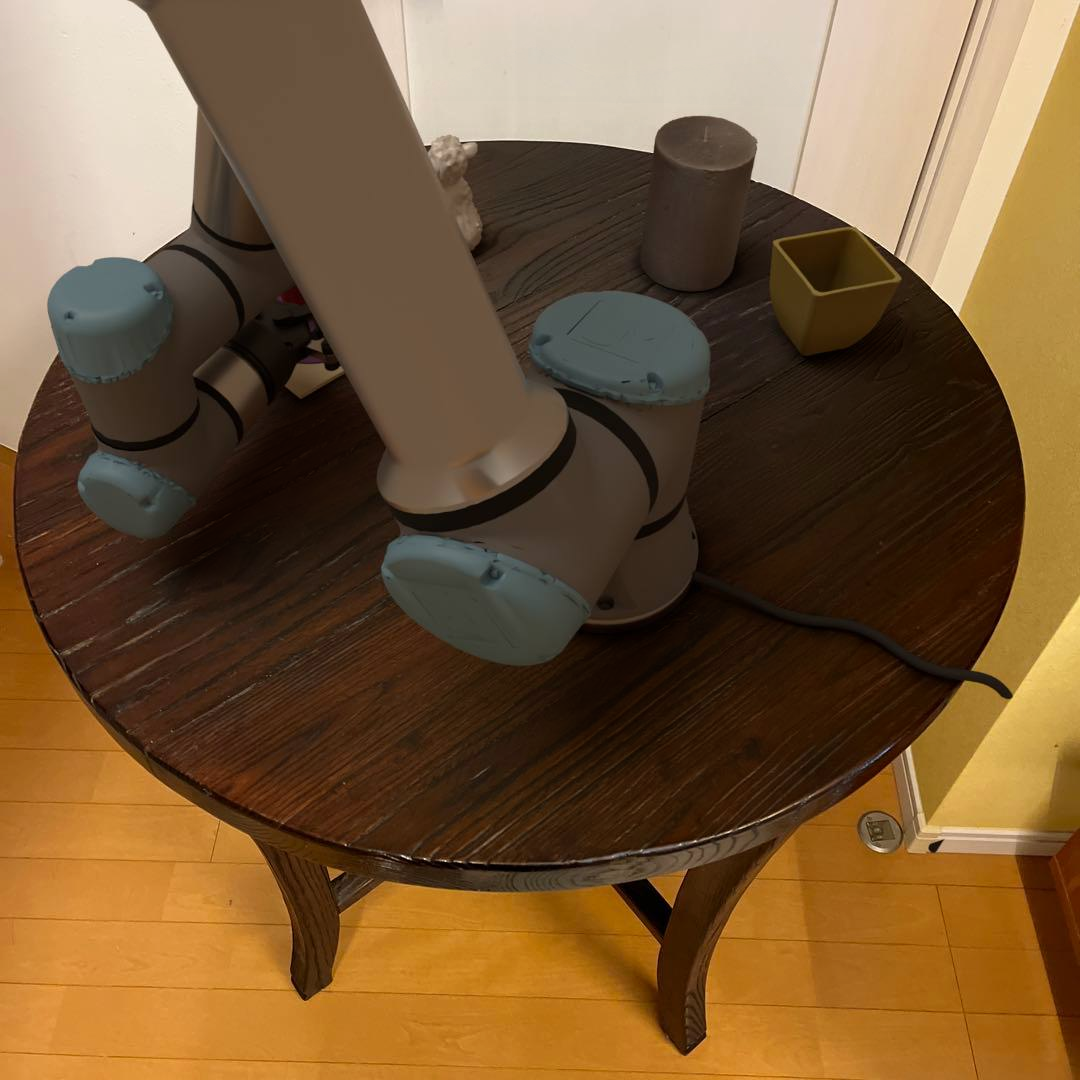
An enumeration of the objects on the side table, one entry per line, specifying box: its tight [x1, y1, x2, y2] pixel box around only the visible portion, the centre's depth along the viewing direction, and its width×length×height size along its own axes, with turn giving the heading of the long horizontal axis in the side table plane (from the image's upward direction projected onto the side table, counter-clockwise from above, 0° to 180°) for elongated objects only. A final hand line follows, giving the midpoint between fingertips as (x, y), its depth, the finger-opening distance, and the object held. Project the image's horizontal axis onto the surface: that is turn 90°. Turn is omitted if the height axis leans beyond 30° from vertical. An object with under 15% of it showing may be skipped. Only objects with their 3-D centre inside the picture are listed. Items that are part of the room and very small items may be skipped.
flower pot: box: [769, 226, 902, 357], centre depth 99 cm, size 9×9×9 cm
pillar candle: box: [639, 115, 759, 292], centre depth 104 cm, size 10×10×15 cm
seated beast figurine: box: [427, 134, 484, 252], centre depth 107 cm, size 10×9×12 cm
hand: (349, 234), depth 98 cm, fingers open, 13 cm apart
